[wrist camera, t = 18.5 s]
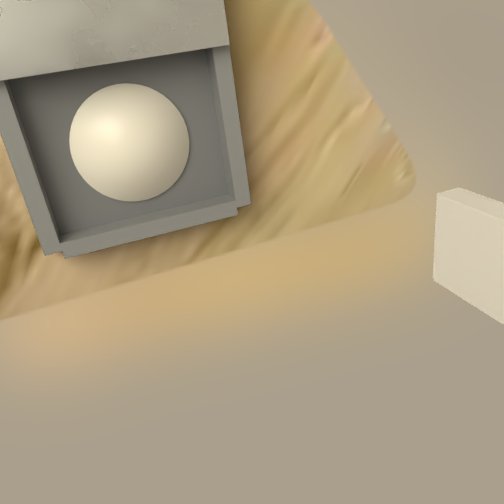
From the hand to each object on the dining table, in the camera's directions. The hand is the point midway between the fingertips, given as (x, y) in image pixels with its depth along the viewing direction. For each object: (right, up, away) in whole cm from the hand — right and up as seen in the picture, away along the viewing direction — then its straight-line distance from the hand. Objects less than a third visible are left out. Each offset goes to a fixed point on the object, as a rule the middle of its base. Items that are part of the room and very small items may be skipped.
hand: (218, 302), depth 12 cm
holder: (-7, +12, +16) cm, 21 cm away
